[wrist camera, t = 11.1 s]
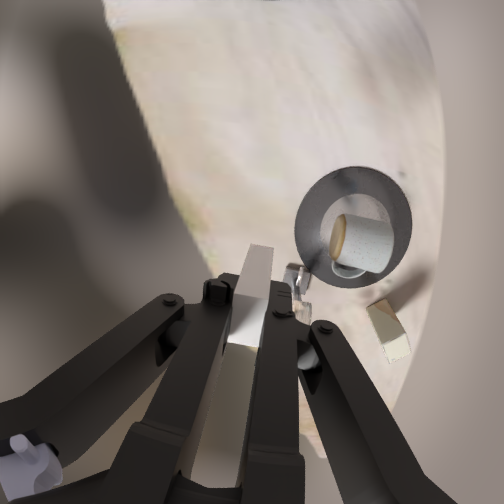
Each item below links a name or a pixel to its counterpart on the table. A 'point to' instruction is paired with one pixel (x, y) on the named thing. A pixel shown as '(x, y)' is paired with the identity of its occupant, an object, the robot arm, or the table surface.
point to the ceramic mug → (360, 245)
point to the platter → (356, 203)
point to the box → (389, 331)
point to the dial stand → (299, 292)
